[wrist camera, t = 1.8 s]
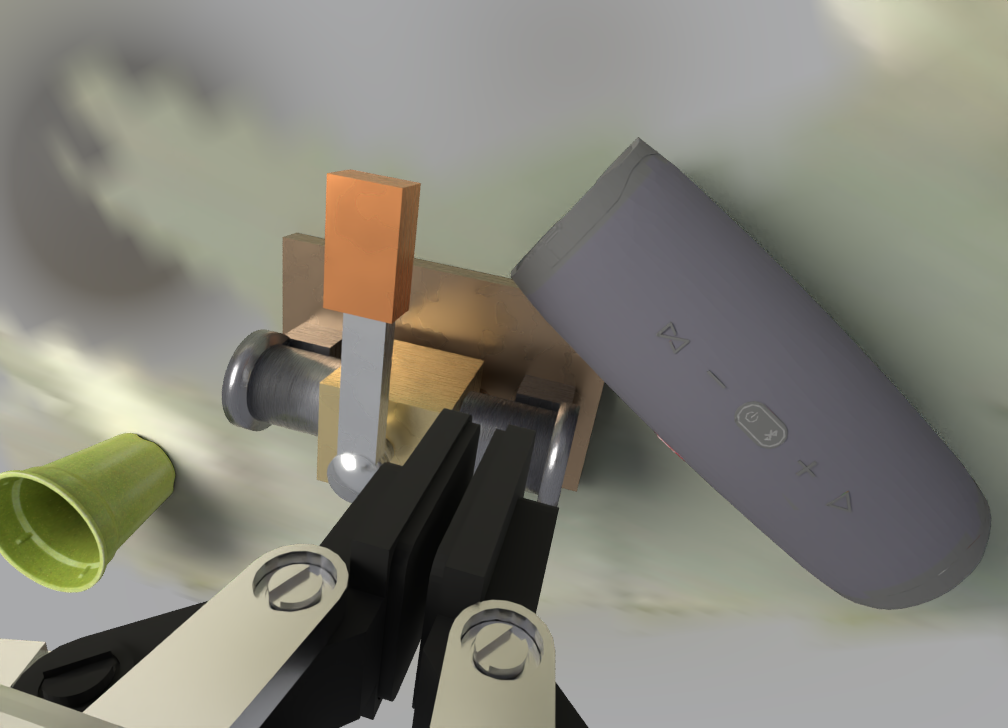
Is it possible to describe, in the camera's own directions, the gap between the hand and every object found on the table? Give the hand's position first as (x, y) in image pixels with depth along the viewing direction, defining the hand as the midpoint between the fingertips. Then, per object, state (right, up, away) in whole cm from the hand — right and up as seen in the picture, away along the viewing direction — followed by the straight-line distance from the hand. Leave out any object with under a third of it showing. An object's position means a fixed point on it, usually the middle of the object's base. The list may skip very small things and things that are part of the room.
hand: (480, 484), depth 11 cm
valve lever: (-5, +3, +13) cm, 15 cm away
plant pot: (-28, -6, +35) cm, 45 cm away
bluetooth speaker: (+13, +4, +21) cm, 25 cm away
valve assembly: (-4, +2, +26) cm, 26 cm away
